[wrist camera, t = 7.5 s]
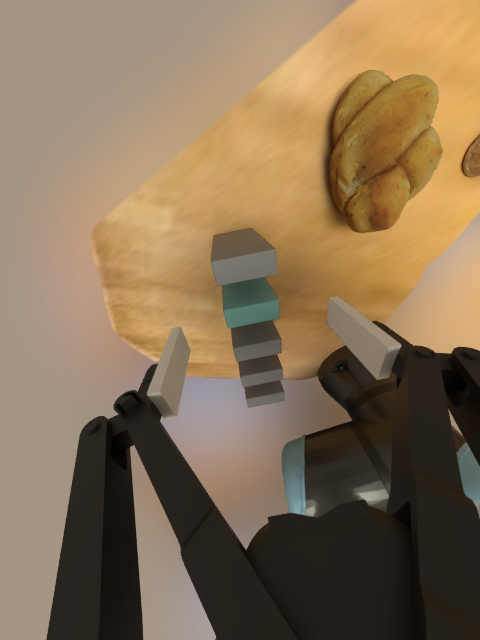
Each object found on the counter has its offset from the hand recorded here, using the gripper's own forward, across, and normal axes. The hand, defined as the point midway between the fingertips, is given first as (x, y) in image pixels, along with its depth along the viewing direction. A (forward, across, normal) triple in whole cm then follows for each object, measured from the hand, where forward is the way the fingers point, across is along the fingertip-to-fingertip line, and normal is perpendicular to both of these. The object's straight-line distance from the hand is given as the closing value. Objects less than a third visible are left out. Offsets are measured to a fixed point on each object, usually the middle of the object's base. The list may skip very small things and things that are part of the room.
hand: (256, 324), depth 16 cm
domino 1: (+13, 0, +4) cm, 14 cm away
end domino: (+13, 0, -5) cm, 14 cm away
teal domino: (+13, 0, -1) cm, 13 cm away
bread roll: (+13, -16, -11) cm, 23 cm away
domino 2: (+13, 0, +8) cm, 15 cm away
